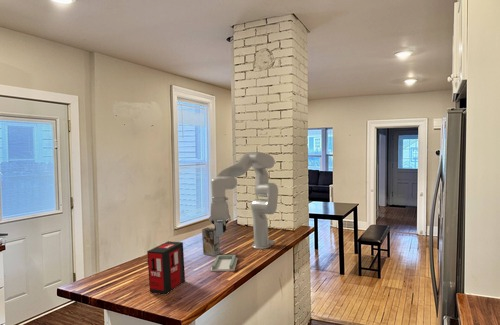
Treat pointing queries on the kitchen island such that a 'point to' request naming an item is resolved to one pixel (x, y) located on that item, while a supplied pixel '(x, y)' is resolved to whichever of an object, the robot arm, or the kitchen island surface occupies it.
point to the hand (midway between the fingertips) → (220, 231)
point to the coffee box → (210, 242)
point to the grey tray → (224, 263)
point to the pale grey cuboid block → (219, 228)
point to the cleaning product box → (166, 267)
